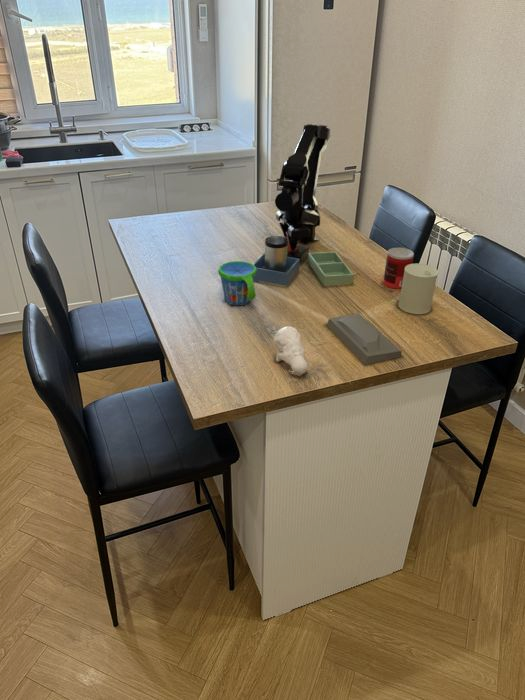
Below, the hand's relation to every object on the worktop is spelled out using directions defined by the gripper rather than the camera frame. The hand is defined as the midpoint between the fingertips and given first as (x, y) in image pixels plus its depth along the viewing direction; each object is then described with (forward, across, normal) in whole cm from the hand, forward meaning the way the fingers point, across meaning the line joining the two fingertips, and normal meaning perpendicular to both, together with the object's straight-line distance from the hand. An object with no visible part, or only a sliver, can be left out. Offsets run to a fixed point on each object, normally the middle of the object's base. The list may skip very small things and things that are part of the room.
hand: (291, 248), depth 184 cm
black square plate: (+4, 0, 0) cm, 4 cm away
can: (+4, -41, -25) cm, 48 cm away
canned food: (+4, -27, -26) cm, 37 cm away
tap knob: (0, 0, 0) cm, 0 cm away
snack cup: (+4, -27, +24) cm, 36 cm away
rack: (+4, -15, -9) cm, 17 cm away
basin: (+4, -13, +9) cm, 16 cm away
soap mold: (+4, -55, -3) cm, 55 cm away
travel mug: (+3, -13, +9) cm, 16 cm away
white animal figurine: (+4, -62, +18) cm, 65 cm away
